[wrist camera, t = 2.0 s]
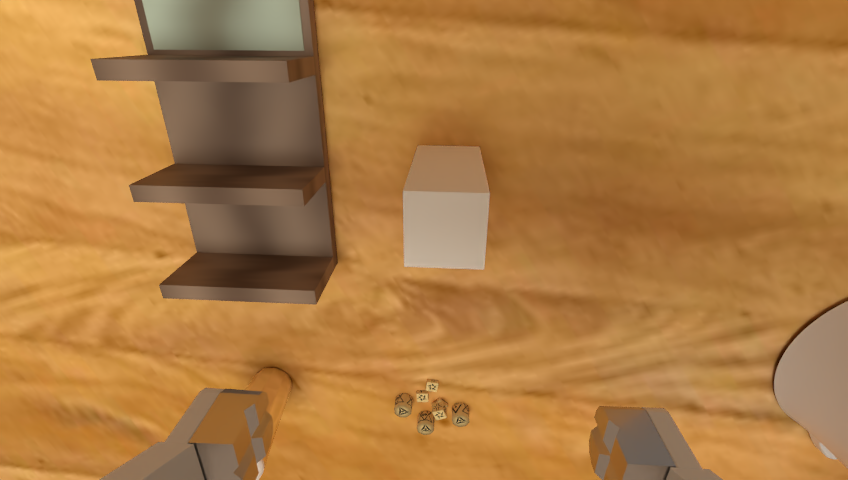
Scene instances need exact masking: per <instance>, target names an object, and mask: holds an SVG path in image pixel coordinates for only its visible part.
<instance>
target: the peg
mask: <svg viewBox="0 0 848 480" xmlns="http://www.w3.org/2000/svg"><path fill="white" fill-rule="evenodd" d="M489 200H490V191H489V186H488V182H487V177H486V173H485V168H484V164H483V159H482V155H481V150H480V146H435V145H418V146H417V149H416V152H415V155H414V158H413V161H412V164H411V167H410V171H409V174H408V177H407V180H406V183H405V186H404V189H403V229H404V267H427V268H455V269H482V270H484V266H485V253H486V240H487V227H488V214H489Z"/></svg>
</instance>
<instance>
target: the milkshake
mask: <svg viewBox="0 0 848 480" xmlns="http://www.w3.org/2000/svg"><path fill="white" fill-rule="evenodd" d="M291 386H292V380H291V379H290V378H289V376H288V375H287V373H286V372H284V371H282V370H279V369H277V368H263V369H262V370H261V371H259V372H258V373H257V374H256V375H255V376H254V378H253V379H252V381H251V382H250V383H249V385H248V386H247V388H246V389H245V390H249V391H263V392H266V393H267V395H268V399H269V405H268V407H267V409H266V411H267V412H268V413H269V414H270V415H271V416H272V419H273V435H272V440H271V445H270V447H269V450H268V452H267V455H266V456H265V457H264V458H263V459H262V460H260V461H259V462H258V463H257V467H258V472H259V473H258V476H257V478H256V480H259V478H260V477H261V475H262V473H263V471H264V468H265V465H266V462H267V459H268V455H269V452H270V449H271V446H272V443H273V440H274V437H275V434H276V431H277V428H278V425H279V423H280V420H281V417H282V414H283V411H284V409H285V406H286V403H287V400H288V397H289V394H290V392H291Z"/></svg>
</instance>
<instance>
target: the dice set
mask: <svg viewBox="0 0 848 480" xmlns="http://www.w3.org/2000/svg"><path fill="white" fill-rule="evenodd" d="M438 382H439V381H438V380H431V379H427V384H426V391H417V402H428V391H433V392H437V389H438ZM446 407H448V403H447V402H445V401H444V400H443V399H441V398H438V399H437V400H435V401H434V402H433V403H432V413H431V412H429V411H421V412H420V414H419V415H418V420H417V430H418V432H419V433H421V434H423V435H427V434H431V433H432V432H433V431H434V417H435V419H436V420H440V419H444V418H447V408H446ZM394 410H395V414H396V415H398V416H399V417H408V416H409V415H410V414H411V410H412V397H411V396H410V395H408V394H399V395H398V396H397V397H396V401H395V408H394ZM452 421H453V424H454V425H456V426H458V427H462V426H466V425H467V424H468V423H469V409H468V405H466V404H464V403H456V404H455V405H454V406H453V407H452Z"/></svg>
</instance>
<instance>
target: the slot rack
mask: <svg viewBox="0 0 848 480" xmlns="http://www.w3.org/2000/svg"><path fill="white" fill-rule="evenodd" d="M134 1H135V5H136V9H137V13H138V17H139V21H140V25H141V29H142V33H143V37H144V41H145V45H146V49H147V53H148V55H140V56H126V57H113V58H99V59H91V62H92V65H93V68H94V72H95V75H96V78H97V80H113V81H155V85H156V89H157V93H158V97H159V101H160V105H161V109H162V113H163V117H164V121H165V125H166V129H167V133H168V137H169V141H170V145H171V149H172V153H173V157H174V161H175V164H173V165H171V166H169V167H166V168H164V169H162V170H160V171H158V172H156V173H154V174H152V175H149V176H147V177H145V178H143V179H141V180H139V181H137V182H135V183H132V184H130V185H129V187H130V190H131V194H132V197H133V200H134V202H162V203H185V205H186V209H187V213H188V217H189V221H190V225H191V229H192V233H193V237H194V241H195V245H196V250H197V253H196V254H195V255H193V256H192V257H191V258H190V259H189V260H188V261H186V262H185V263H184V264H183V265H182V266H181V267H179V268H178V269H177V270H176V271H175V272H174V273H172V274H171V275H170V276H169V277H168V278H167V279H165V280H164V281H163V282H162V283H161V284H160V285H159V286H160V289H161V293H162V296H163V298H172V299H196V300H221V301H245V302H269V303H294V304H317V302H318V300H319V298H320V296H321V294H322V292H323V290H324V288H325V286H326V284H327V282H328V280H329V278H330V276H331V274H332V272H333V270H334V269H335V267H336V265H337V252H336V241H335V230H334V220H333V209H332V198H331V187H330V176H329V165H328V155H327V144H326V133H325V122H324V111H323V100H322V89H321V79H320V68H319V57H318V46H317V35H316V24H315V14H314V3H313V0H134Z"/></svg>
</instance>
